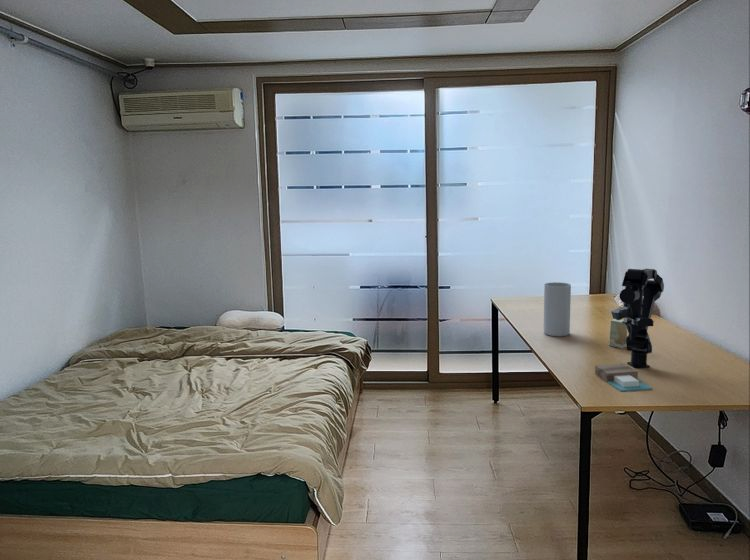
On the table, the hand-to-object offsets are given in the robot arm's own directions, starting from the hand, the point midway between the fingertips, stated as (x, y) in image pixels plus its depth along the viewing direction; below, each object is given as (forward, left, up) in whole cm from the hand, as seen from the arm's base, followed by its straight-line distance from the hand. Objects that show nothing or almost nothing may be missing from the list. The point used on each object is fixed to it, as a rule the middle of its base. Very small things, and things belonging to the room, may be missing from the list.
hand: (632, 340), depth 232 cm
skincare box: (-35, +13, -13) cm, 40 cm away
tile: (+13, -9, -13) cm, 20 cm away
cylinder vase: (-62, -5, -13) cm, 64 cm away
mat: (+15, -9, -13) cm, 21 cm away
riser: (+5, -9, -13) cm, 16 cm away
